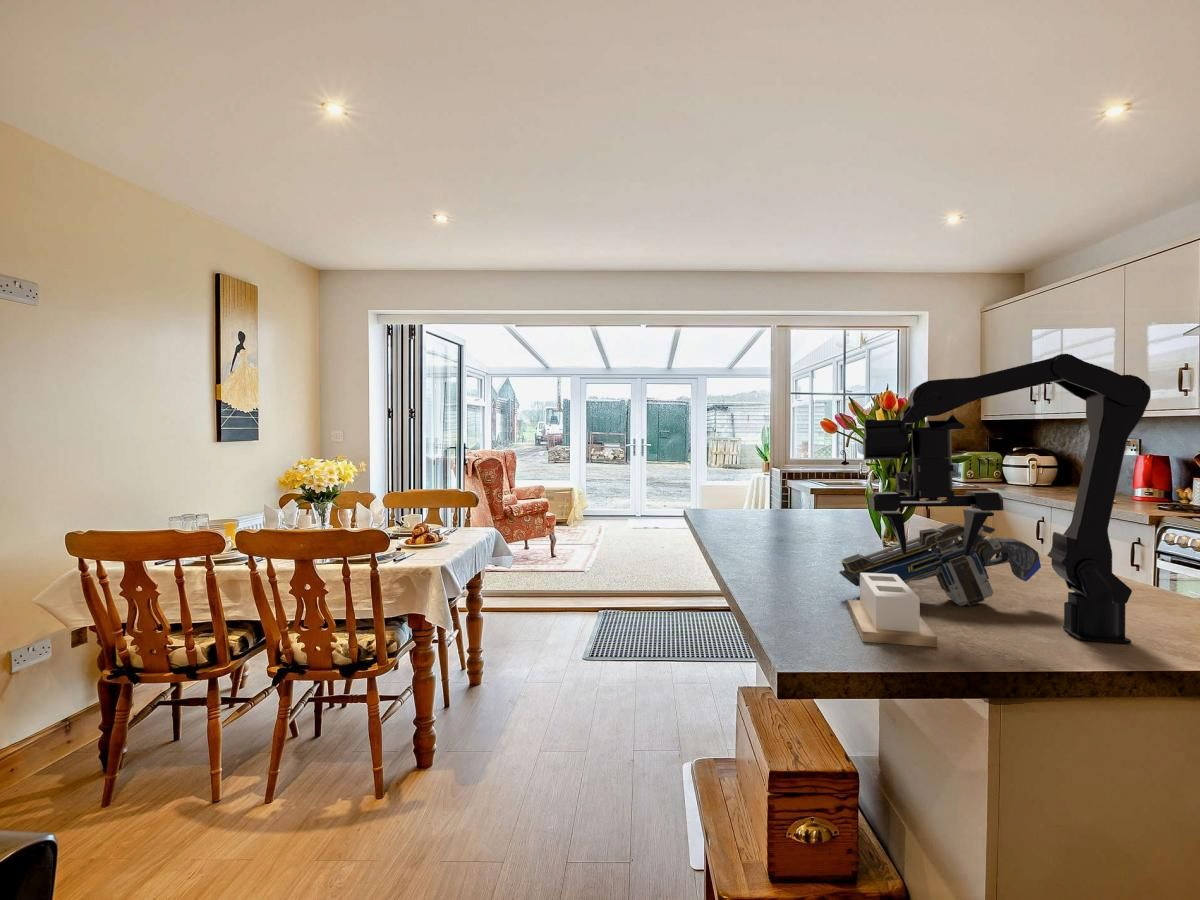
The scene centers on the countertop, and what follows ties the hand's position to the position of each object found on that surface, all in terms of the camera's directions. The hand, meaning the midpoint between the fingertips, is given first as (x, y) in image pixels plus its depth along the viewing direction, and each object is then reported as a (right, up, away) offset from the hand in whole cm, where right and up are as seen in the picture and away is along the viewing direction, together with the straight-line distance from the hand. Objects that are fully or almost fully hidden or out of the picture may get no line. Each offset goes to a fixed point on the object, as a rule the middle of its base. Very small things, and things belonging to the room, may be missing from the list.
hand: (934, 554), depth 104 cm
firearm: (+8, -12, +14) cm, 20 cm away
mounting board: (-8, -11, -1) cm, 14 cm away
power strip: (-8, -10, 0) cm, 13 cm away
